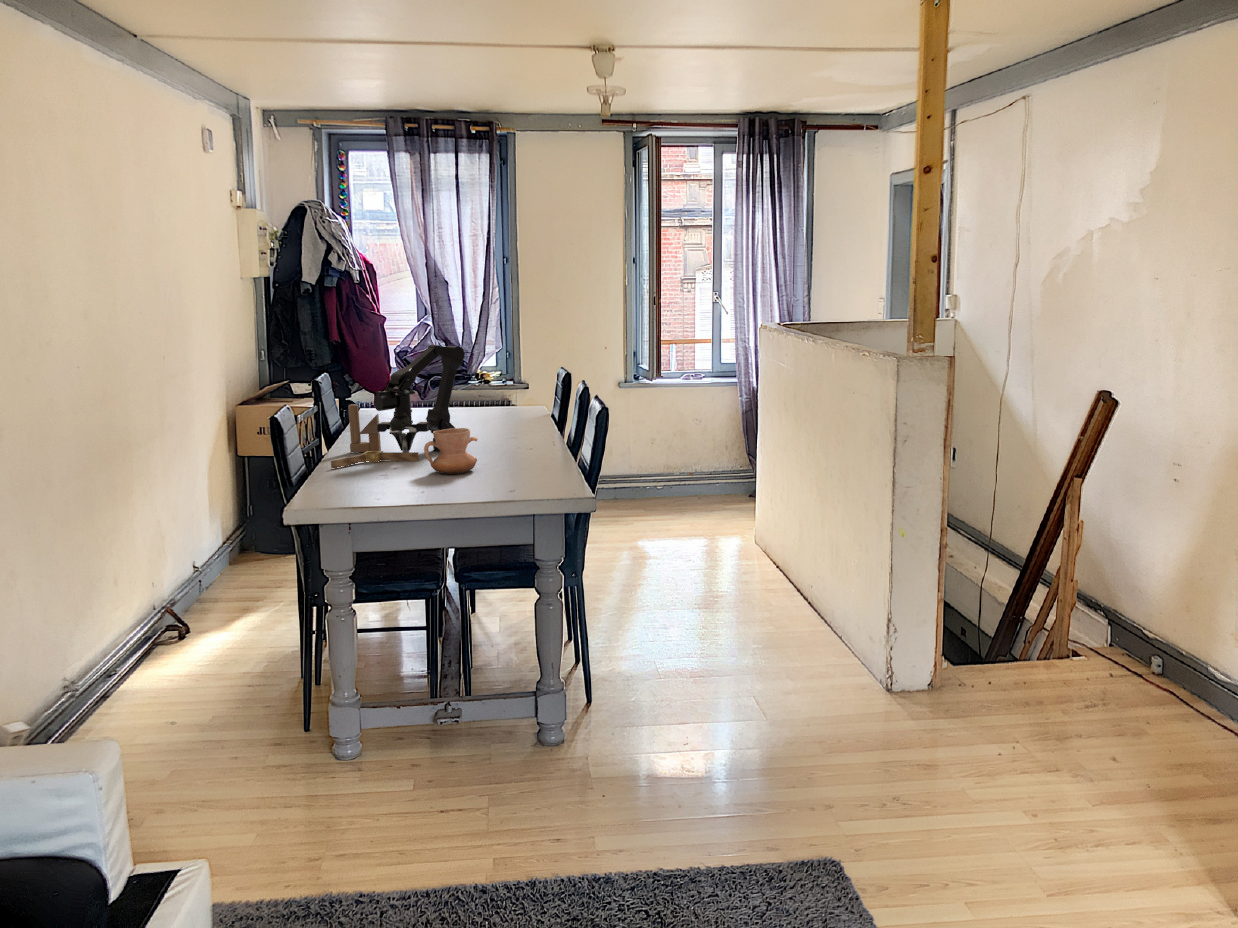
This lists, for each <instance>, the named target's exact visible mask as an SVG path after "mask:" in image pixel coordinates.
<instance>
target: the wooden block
mask: <svg viewBox="0 0 1238 928" xmlns="http://www.w3.org/2000/svg"><path fill="white" fill-rule="evenodd" d="M347 407H348V418H349V419H348V420H349V421H348V422H349V433H350V443H349V450H350V453H351V452H366V451H382V446H381V432H377V425H378V424H379V423H380V419H379V413H377V414H376V415H374V417H373V418H371V420H370V421H369V422H368V423H367V425H365V427H364V428H363V429H362V430H361V426H360V425H361V424H360V413H359V404H354V403H351V404H348V406H347ZM361 435H368V442H367V441H361V440H362V439H361Z"/></svg>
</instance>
